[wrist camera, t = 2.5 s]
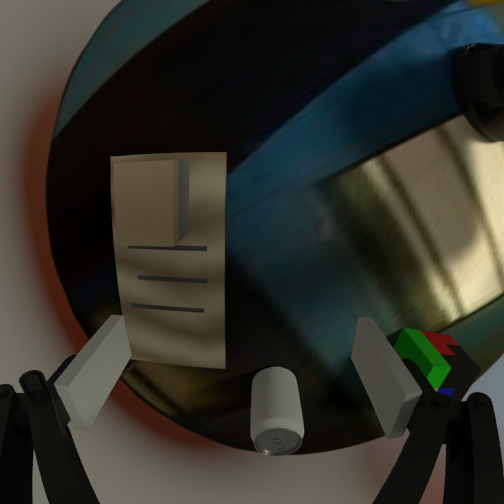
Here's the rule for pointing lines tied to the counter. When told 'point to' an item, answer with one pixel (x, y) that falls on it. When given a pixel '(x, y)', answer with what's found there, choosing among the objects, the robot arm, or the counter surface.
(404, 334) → the puzzle toy
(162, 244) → the block
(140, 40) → the counter surface
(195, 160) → the board
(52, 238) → the counter surface
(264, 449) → the can
